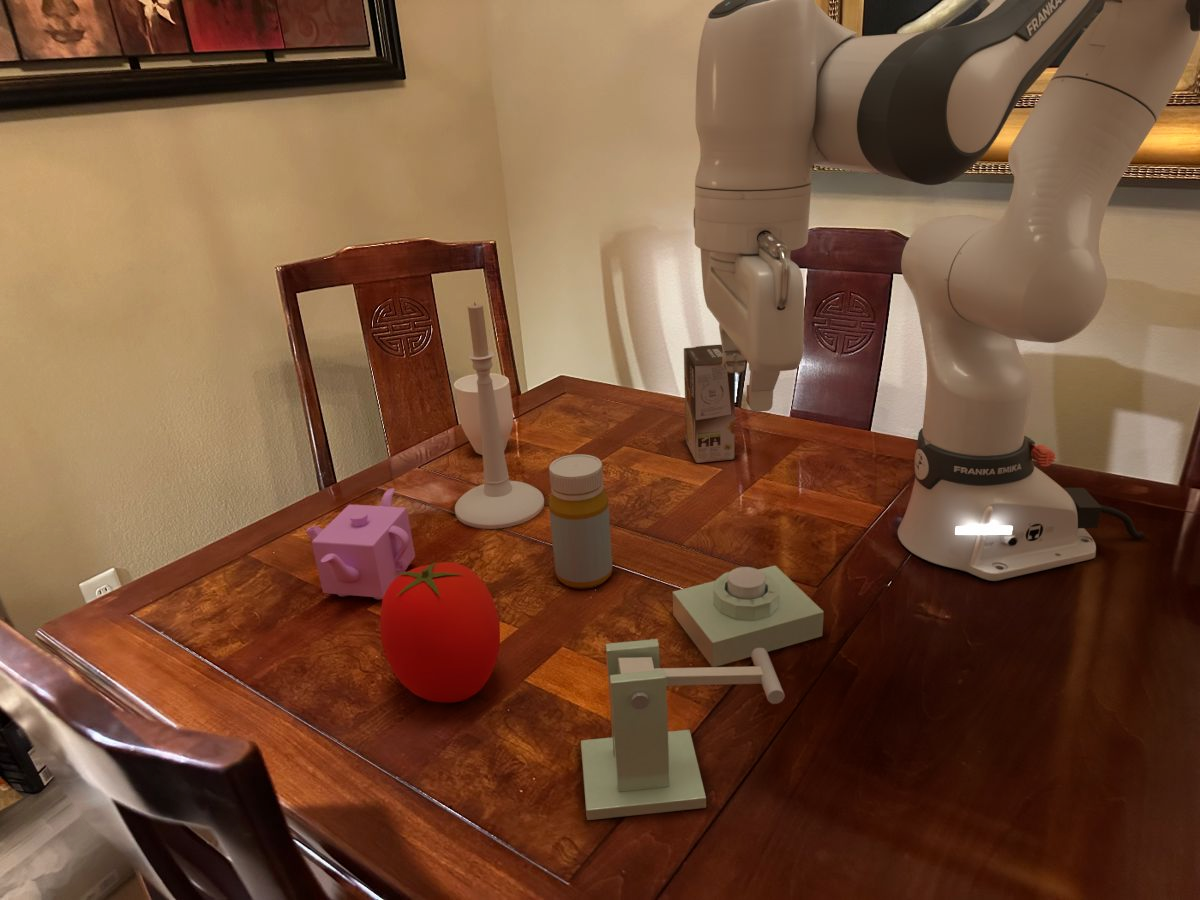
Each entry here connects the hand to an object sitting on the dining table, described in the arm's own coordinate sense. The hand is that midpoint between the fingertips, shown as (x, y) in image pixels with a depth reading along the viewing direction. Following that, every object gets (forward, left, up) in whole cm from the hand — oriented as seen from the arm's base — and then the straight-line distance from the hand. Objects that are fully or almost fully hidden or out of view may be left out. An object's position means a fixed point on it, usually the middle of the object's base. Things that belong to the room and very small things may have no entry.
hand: (745, 388), depth 72 cm
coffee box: (-7, -55, -31) cm, 63 cm away
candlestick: (+26, -42, -31) cm, 58 cm away
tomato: (+30, -4, -31) cm, 43 cm away
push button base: (-2, -9, -31) cm, 32 cm away
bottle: (+15, -22, -31) cm, 41 cm away
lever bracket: (+12, +11, -31) cm, 35 cm away
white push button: (-2, -9, -27) cm, 28 cm away
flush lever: (+7, +11, -22) cm, 25 cm away
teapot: (+42, -25, -31) cm, 57 cm away
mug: (+28, -64, -31) cm, 76 cm away
